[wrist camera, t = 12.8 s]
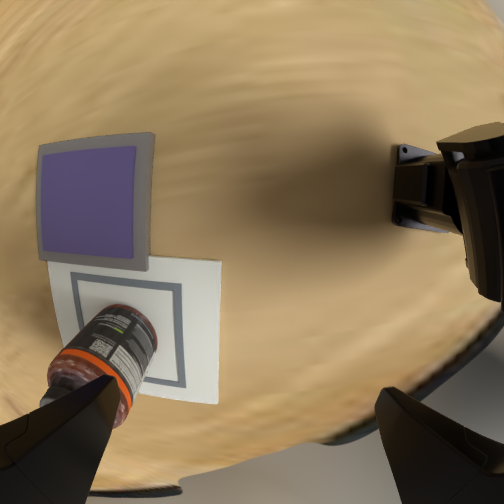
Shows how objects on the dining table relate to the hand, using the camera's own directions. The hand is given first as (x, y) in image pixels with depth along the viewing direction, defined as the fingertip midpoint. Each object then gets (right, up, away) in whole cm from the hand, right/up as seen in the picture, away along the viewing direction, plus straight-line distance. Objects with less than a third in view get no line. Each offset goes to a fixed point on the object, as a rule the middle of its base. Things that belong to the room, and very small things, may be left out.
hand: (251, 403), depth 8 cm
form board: (-11, -2, +14) cm, 17 cm away
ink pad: (-13, +9, +11) cm, 19 cm away
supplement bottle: (-11, -2, +13) cm, 17 cm away
